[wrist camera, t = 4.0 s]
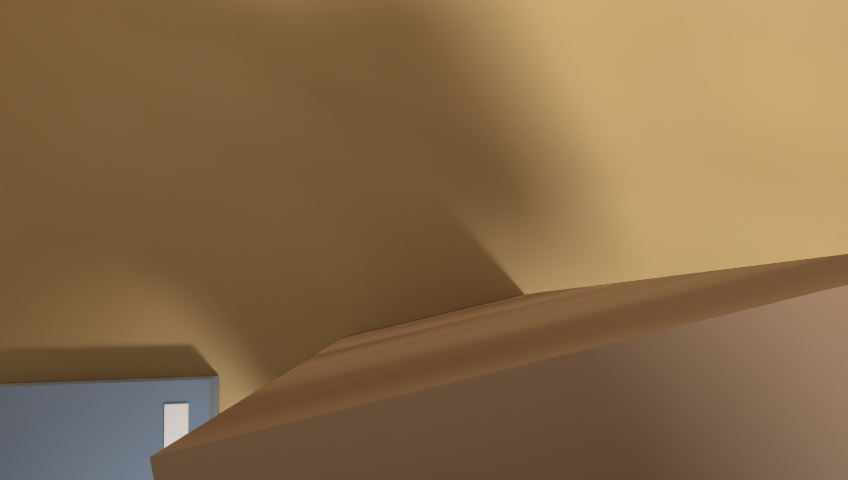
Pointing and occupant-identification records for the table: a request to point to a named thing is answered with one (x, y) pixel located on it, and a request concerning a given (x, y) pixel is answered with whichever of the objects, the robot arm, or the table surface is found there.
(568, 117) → the table surface
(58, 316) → the table surface
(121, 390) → the blueprint board
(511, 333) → the pillar
